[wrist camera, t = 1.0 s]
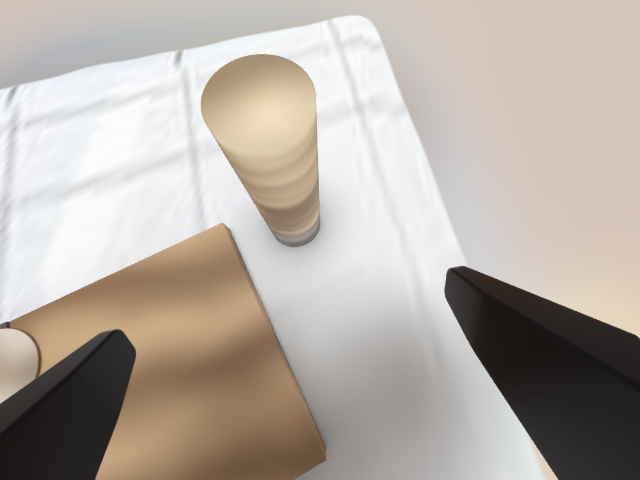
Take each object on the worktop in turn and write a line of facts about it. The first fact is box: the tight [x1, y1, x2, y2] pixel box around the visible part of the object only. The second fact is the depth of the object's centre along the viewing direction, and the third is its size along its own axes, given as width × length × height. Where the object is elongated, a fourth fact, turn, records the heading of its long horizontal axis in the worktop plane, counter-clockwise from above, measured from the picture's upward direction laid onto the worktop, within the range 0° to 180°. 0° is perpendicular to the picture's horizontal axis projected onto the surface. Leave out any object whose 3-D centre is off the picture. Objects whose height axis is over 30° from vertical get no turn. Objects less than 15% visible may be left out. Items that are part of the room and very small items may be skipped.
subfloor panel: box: [0, 223, 326, 480], centre depth 18 cm, size 17×20×2 cm
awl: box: [201, 54, 320, 247], centre depth 16 cm, size 4×4×13 cm
